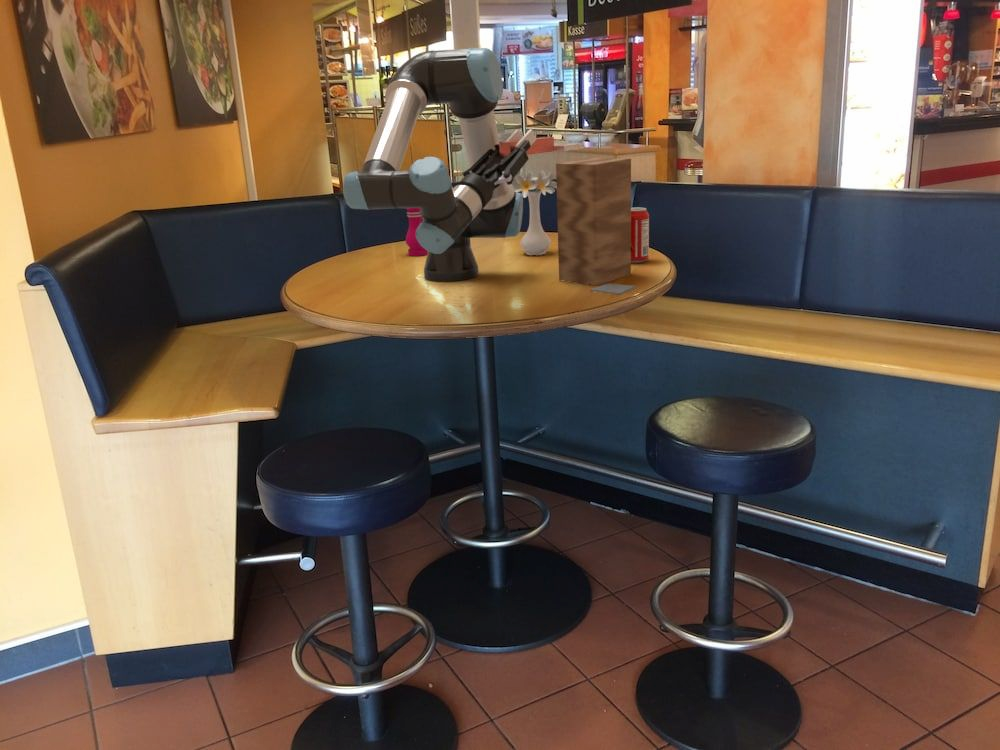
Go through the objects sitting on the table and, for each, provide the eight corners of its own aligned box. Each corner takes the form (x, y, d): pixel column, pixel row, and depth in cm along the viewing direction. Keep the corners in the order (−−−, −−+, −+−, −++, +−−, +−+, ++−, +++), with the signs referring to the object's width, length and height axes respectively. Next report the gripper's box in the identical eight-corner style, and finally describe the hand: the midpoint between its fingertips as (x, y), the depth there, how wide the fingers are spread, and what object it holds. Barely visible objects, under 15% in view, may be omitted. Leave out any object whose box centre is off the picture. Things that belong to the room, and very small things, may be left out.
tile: (590, 293, 206) (590, 289, 206) (607, 286, 212) (607, 283, 212) (618, 297, 201) (618, 292, 201) (635, 290, 207) (635, 286, 207)
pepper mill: (428, 255, 261) (423, 191, 254) (405, 256, 261) (399, 192, 255) (430, 251, 268) (425, 188, 261) (408, 252, 268) (403, 189, 262)
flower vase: (570, 255, 250) (568, 170, 242) (509, 259, 249) (505, 174, 241) (565, 247, 262) (563, 166, 254) (507, 251, 262) (503, 170, 254)
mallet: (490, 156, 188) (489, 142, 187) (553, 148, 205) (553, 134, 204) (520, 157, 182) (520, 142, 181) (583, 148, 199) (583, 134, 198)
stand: (559, 280, 219) (556, 163, 209) (593, 269, 230) (592, 157, 220) (596, 285, 211) (595, 164, 201) (630, 273, 222) (631, 158, 213)
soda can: (648, 264, 233) (648, 210, 228) (619, 264, 234) (619, 210, 230) (648, 258, 240) (649, 206, 235) (621, 259, 242) (621, 207, 237)
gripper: (449, 209, 186) (504, 148, 197) (504, 213, 176) (560, 148, 186) (435, 182, 181) (493, 120, 192) (491, 184, 171) (549, 119, 182)
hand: (526, 134), depth 189 cm, fingers closed on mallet, 3 cm apart
